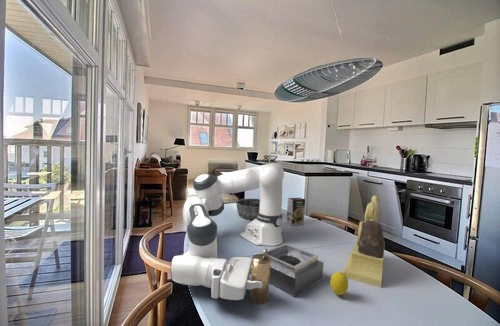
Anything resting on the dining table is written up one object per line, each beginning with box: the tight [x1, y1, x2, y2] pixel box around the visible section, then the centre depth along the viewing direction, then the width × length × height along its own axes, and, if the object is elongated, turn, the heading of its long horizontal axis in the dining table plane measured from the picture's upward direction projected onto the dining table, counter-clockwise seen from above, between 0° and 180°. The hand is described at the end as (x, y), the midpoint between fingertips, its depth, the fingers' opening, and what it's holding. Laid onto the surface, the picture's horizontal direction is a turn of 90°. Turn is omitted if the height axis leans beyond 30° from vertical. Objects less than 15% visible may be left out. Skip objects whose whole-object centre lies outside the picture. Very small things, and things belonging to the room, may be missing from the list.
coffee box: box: [285, 197, 306, 227], centre depth 160 cm, size 9×6×16 cm
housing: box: [260, 243, 324, 298], centre depth 95 cm, size 18×18×8 cm
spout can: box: [249, 248, 271, 305], centre depth 80 cm, size 6×6×16 cm
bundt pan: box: [235, 198, 260, 221], centre depth 172 cm, size 26×26×10 cm
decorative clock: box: [342, 195, 386, 288], centre depth 105 cm, size 28×13×30 cm, turn 151°
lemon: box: [329, 271, 349, 297], centre depth 84 cm, size 6×6×8 cm
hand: (263, 278), depth 80 cm, fingers closed on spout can, 6 cm apart
